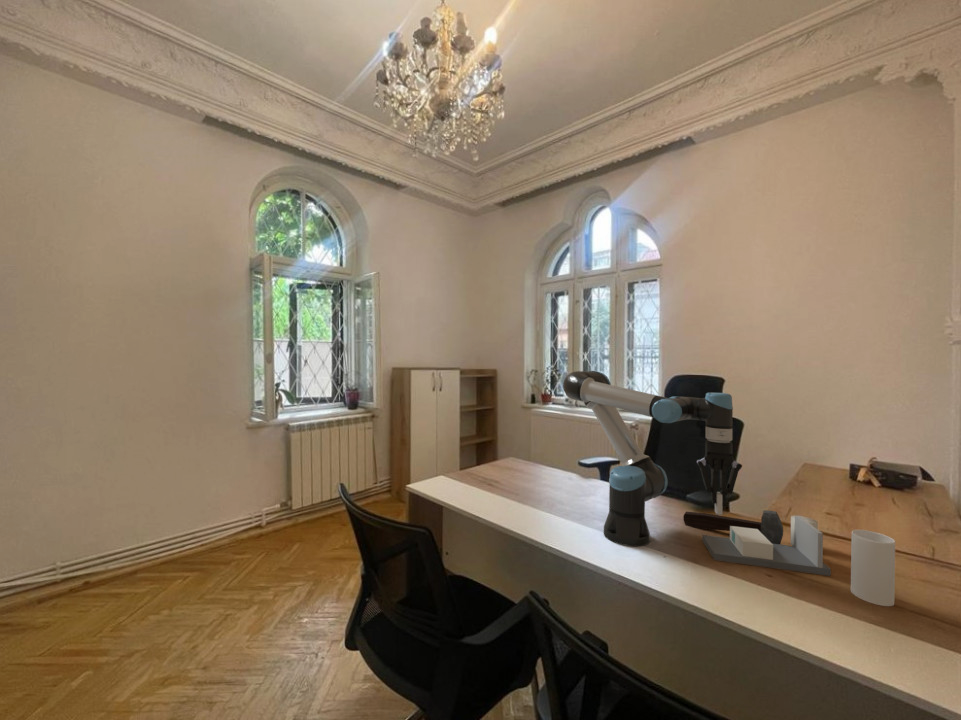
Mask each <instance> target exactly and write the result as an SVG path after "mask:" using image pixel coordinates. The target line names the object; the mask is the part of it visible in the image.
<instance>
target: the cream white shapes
mask: <svg viewBox="0 0 961 720" xmlns="http://www.w3.org/2000/svg"><path fill="white" fill-rule="evenodd" d="M799 516H800V517H801V518H803V519H804V520H805V521H807V522H808V523H810V524H811V525H812V526H814V527H815V528H816V529H818V528H819V527H818V526H819V522H818V520H815V519H814V518H811V517H808V516H807V517H806V516H803V515H799ZM818 530H819V529H818ZM794 532H795V515H791V516H790V546H794Z"/></svg>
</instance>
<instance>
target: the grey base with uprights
mask: <svg viewBox="0 0 961 720" xmlns="http://www.w3.org/2000/svg"><path fill="white" fill-rule="evenodd" d="M794 516H795V532H794V546H792V545H787V544H773V543H772V544H773V560H770V559H762V558H755V557H747V556H742V554H741V553H740V552H739V551H738V549H737V548H736V547H735V545H734V544H733V543H732V542H731V540H730V537H723V536H716V535H715V536H714V535H709V534H708V535H707V534H702V537H701V538H702V542H703V544H704V545H705V547H706V549H707V551H708V552H709V553H710V555H711V557H712V559H713V560H714V561H718V562H719V561H720V562H721V561H722V562H724V563H725V562H727V563H734V564H741V565H748V566H755V567H764V568H770V569H778V570H785V571H791V572H798V573H799V572H800V573H805V574H807V573H808V574H812V575H813V574H814V575H820V576H828V577H830V576H831V573H832V572H831V570H832V569H831V568H830V567H829V566H828V565H827V564H825V563H824V561H823V559H824V556H823V555H824V554H823V553H824V548H823V547H824V533H823V532H822V531H821V530H819V529H816V528H815V527H814V526H812V525H811V524H810V523H808V522H807V521H805V520H804V519H803V518H801V517H800V516H801V515H795V514H794Z"/></svg>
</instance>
